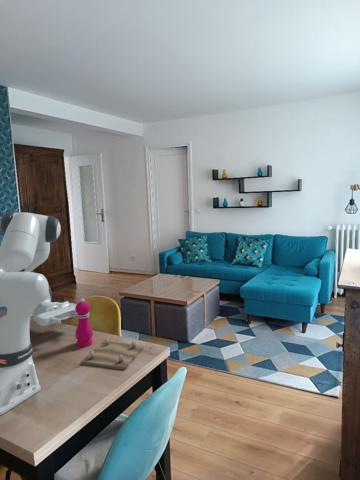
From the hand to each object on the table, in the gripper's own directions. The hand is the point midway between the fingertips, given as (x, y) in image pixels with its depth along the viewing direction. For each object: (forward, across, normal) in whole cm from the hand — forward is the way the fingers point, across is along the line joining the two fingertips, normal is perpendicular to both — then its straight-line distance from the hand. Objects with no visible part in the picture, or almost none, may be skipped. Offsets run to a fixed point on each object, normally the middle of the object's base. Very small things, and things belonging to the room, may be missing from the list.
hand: (70, 318), depth 150 cm
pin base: (+27, -1, +10) cm, 28 cm away
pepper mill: (+8, 0, +10) cm, 13 cm away
